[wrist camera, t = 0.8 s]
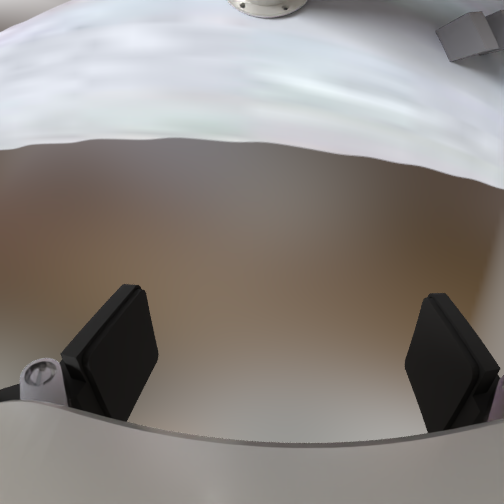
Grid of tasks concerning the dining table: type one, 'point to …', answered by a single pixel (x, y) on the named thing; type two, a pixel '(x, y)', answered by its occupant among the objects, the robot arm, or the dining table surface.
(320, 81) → the dining table surface
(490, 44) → the tile
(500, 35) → the tile
